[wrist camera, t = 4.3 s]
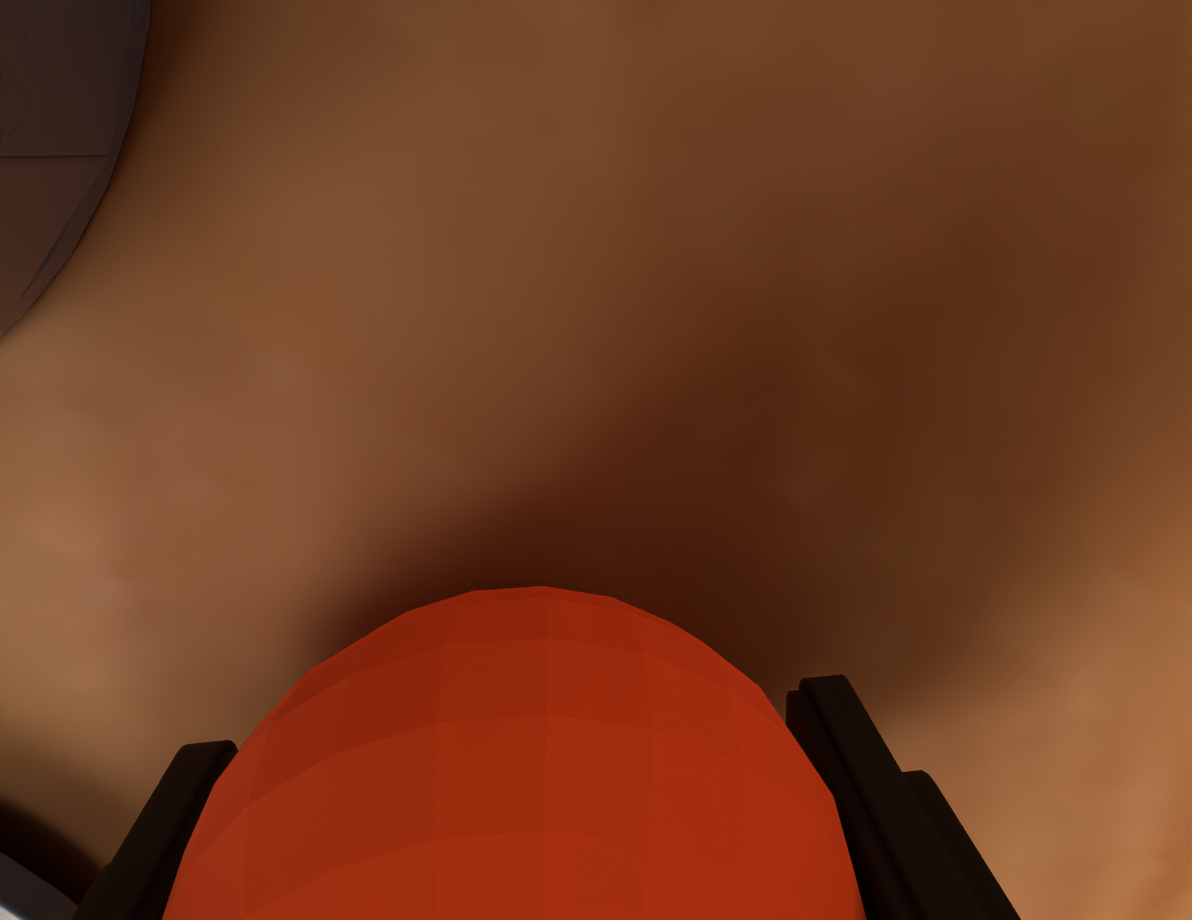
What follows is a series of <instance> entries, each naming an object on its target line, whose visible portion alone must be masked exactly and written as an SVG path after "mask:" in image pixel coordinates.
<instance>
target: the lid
mask: <svg viewBox="0 0 1192 920" xmlns="http://www.w3.org/2000/svg"><path fill="white" fill-rule="evenodd" d="M77 908H78V905H77V904H75V903H74V902H73V901H72V900H71V899H69V898H68V897H67V896H66V895H65V894H63V893H62V892H61V891H60V890H58V889H57V888H55V887H54V886H52V885H51V884H49V883H48V882H46V881H44V880H43V879H41V878H40V877H38V876H37V875H35V874H34V873H32V872H31V871H29V870H28V869H26V868H25V867H23V866H22V865H20V864H19V863H17V862H16V861H14V860H13V859H11V858H10V857H8V856H7V855H5V854H3V853H1V852H0V920H70V919H71V918H72V916H73V914H74V913H75V911H76V910H77Z"/></svg>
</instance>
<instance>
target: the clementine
mask: <svg viewBox="0 0 1192 920" xmlns="http://www.w3.org/2000/svg"><path fill="white" fill-rule="evenodd" d="M162 920H867V919H866V915H865V911H864V907H863V903H862V900H861V896H860V892H859V888H858V884H857V881H856V877H855V873H854V869H853V866H852V862H851V858H850V855H849V851H848V848H847V844H846V840H845V837H844V833H843V829H842V826H841V822H840V818H839V815H838V811H837V807H836V804H835V800H834V796H833V795H832V793H831V792H830V790H829V789H828V787H827V786H826V784H825V783H824V781H823V780H822V778H821V777H820V775H819V774H818V772H817V771H816V769H815V768H814V766H813V765H812V763H811V762H810V760H809V759H808V757H807V756H806V754H805V753H804V751H803V750H802V748H801V747H800V745H799V744H798V742H797V740H796V739H795V738H794V736H793V735H792V733H791V732H790V730H789V729H788V727H787V726H786V724H785V723H784V722H783V720H782V719H781V717H780V716H779V714H778V713H777V711H776V710H775V708H774V707H773V706H772V704H771V703H770V701H769V700H768V698H767V697H766V695H765V694H764V693H763V691H762V690H761V688H760V687H759V686H758V685H757V684H756V683H754V682H753V681H752V680H751V679H749V678H748V677H747V676H745V675H744V674H743V673H742V672H740V671H739V670H738V669H737V668H735V667H734V666H733V665H731V664H730V663H729V662H728V661H726V660H725V659H724V658H723V657H721V656H720V655H719V654H717V653H716V652H715V651H714V650H712V649H711V648H710V647H709V646H707V645H706V644H705V643H703V642H702V641H700V640H699V639H697V638H696V637H694V636H692V635H691V634H689V633H687V632H686V631H684V630H683V629H681V628H679V627H678V626H676V625H674V624H673V623H671V622H669V621H667V620H664V619H662V618H660V617H657V616H655V615H653V614H650V613H648V612H646V611H643V610H641V609H638V608H636V607H634V606H631V605H629V604H627V603H624V602H622V601H619V600H617V599H615V598H612V597H609V596H603V595H596V594H590V593H584V592H578V591H571V590H565V589H559V588H553V587H546V586H534V587H520V588H506V589H492V590H478V591H470V592H467V593H464V594H461V595H458V596H454V597H451V598H448V599H445V600H442V601H438V602H435V603H432V604H429V605H426V606H422V607H419V608H416V609H413V610H410V611H406V612H405V613H403V614H401V615H400V616H398V617H396V618H394V619H393V620H391V621H389V622H388V623H386V624H384V625H383V626H381V627H379V628H378V629H376V630H374V631H373V632H371V633H369V634H368V635H366V636H364V637H363V638H361V639H360V640H358V641H356V642H355V643H353V644H351V645H350V646H348V647H346V648H345V649H343V650H342V651H340V652H338V653H337V654H335V655H333V656H332V657H330V658H328V659H327V660H325V661H324V662H322V663H320V664H319V665H317V666H315V667H314V668H312V669H311V670H309V671H307V672H306V673H305V674H304V676H303V677H302V678H301V679H300V680H299V681H298V682H297V683H296V684H295V685H294V686H293V688H292V689H291V690H290V691H289V692H288V693H287V694H286V695H285V696H284V697H283V698H282V699H281V701H280V702H279V703H278V704H277V705H276V706H275V707H274V708H273V709H272V710H271V711H270V713H269V714H268V715H267V716H266V717H265V718H264V719H263V720H262V721H261V722H260V723H259V724H258V726H257V727H256V728H255V730H254V731H253V732H252V734H251V735H250V736H249V738H248V739H247V740H246V742H245V743H244V745H243V746H242V747H241V749H240V750H239V751H238V753H237V754H236V755H235V757H234V758H233V759H232V761H231V762H230V764H229V765H228V766H227V768H226V769H225V770H224V772H223V773H222V774H221V776H220V777H219V778H218V780H217V781H216V782H215V784H214V786H213V788H212V791H211V793H210V795H209V797H208V800H207V802H206V804H205V806H204V808H203V811H202V813H201V815H200V817H199V820H198V822H197V824H196V826H195V829H194V831H193V833H192V835H191V838H190V840H189V842H188V844H187V847H186V849H185V851H184V854H183V857H182V860H181V863H180V866H179V869H178V872H177V875H176V878H175V881H174V884H173V887H172V890H171V893H170V896H169V899H168V902H167V905H166V908H165V911H164V914H163V918H162Z"/></svg>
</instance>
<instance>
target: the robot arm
mask: <svg viewBox="0 0 1192 920" xmlns="http://www.w3.org/2000/svg"><path fill="white" fill-rule="evenodd" d="M786 726H787V727H788V729H789V730H790V732H791V733H792V735H793V736H794V738H795V739H796V740H797V742H798V744H799V745H800V747H801V748H802V750H803V751H804V753H805V754H806V756H807V757H808V759H809V760H810V762H811V763H812V765H813V766H814V768H815V769H816V771H817V772H818V774H819V775H820V777H821V778H822V780H823V781H824V783H825V784H826V786H827V787H828V789H829V790H830V792H831V793H832V795H833V796H834V800H835V804H836V807H837V811H838V815H839V818H840V822H841V826H842V829H843V833H844V837H845V840H846V844H847V848H848V851H849V855H850V858H851V862H852V866H853V869H854V873H855V877H856V881H857V884H858V888H859V892H860V896H861V900H862V903H863V907H864V911H865V915H866V919H867V920H1021V919H1020V917H1019V915H1018V914H1017V912H1016V911H1015V909H1014V908H1013V906H1012V904H1011V903H1010V901H1009V900H1008V898H1007V896H1006V895H1005V893H1004V892H1003V890H1002V888H1001V887H1000V885H999V884H998V882H997V880H996V879H995V877H994V876H993V874H992V872H991V871H990V869H989V868H988V866H987V864H986V863H985V861H984V860H983V858H982V856H981V855H980V853H979V852H978V850H977V849H976V847H975V845H974V844H973V842H972V841H971V839H970V837H969V836H968V834H967V833H966V831H965V829H964V828H963V826H962V825H961V823H960V821H959V820H958V818H957V817H956V815H955V813H954V812H953V810H952V809H951V807H950V805H949V804H948V802H947V801H946V799H945V797H944V796H943V794H942V793H941V791H940V790H939V788H938V786H937V785H936V783H935V782H934V781H933V779H932V778H931V777H930V776H929V774H927V773H926V772H924V771H923V770H918V771H909V772H902V771H901V770H900V768H899V766H898V764H897V763H896V761H895V759H894V758H893V756H892V754H891V752H890V751H889V749H888V747H887V746H886V744H885V742H884V740H883V739H882V737H881V735H880V734H879V732H878V730H877V728H876V727H875V725H874V723H873V722H872V720H871V718H870V716H869V715H868V713H867V711H866V710H865V708H864V706H863V705H862V703H861V701H860V699H859V698H858V696H857V694H856V693H855V691H854V689H853V687H852V686H851V684H850V682H849V681H848V679H847V678H846V677H845V676H844V675H842V674H840V675H831V676H822V677H812V678H803V679H802V680H801V681H800V684H799V690H795V691H789V692H788V693H787V699H786ZM238 751H239V750H238V749H237V747H236V745H235V744H234V743H233V742H232V741H230V740H223V741H214V742H205V743H195V744H187V745H185V746H183V747H181V749H180V750H179V751H178V752H177V754H176V755H175V757H174V759H173V760H172V762H171V764H170V765H169V767H168V769H167V770H166V772H165V774H164V775H163V777H162V779H161V780H160V782H159V784H158V785H157V787H156V789H155V790H154V792H153V794H152V795H151V797H150V798H149V800H148V802H147V803H146V805H145V807H144V808H143V810H142V812H141V813H140V815H139V817H138V818H137V820H136V822H135V823H134V825H133V827H132V828H131V830H130V832H129V833H128V835H127V837H126V838H125V840H124V842H123V843H122V845H121V846H120V848H119V850H118V851H117V853H116V855H115V856H114V858H113V860H112V861H111V863H109V864H108V865H106V866H105V867H104V868H103V869H102V871H101V872H100V873H99V875H98V876H97V877H96V879H95V880H94V882H93V883H92V885H91V887H90V888H89V890H88V892H87V893H86V895H85V896H84V898H83V900H82V901H81V903H80V905H79V906H78V908H77V910H76V911H75V913H74V914H73V916H72V918H71V919H70V920H162V918H163V914H164V911H165V908H166V905H167V902H168V899H169V896H170V893H171V890H172V887H173V884H174V881H175V878H176V875H177V872H178V869H179V866H180V863H181V860H182V857H183V854H184V851H185V849H186V847H187V844H188V842H189V840H190V838H191V835H192V833H193V831H194V829H195V826H196V824H197V822H198V820H199V817H200V815H201V813H202V811H203V808H204V806H205V804H206V802H207V800H208V797H209V795H210V793H211V791H212V788H213V786H214V784H215V782H216V781H217V780H218V778H219V777H220V776H221V774H222V773H223V772H224V770H225V769H226V768H227V766H228V765H229V764H230V762H231V761H232V759H233V758H234V757H235V755H236V754H237V753H238Z"/></svg>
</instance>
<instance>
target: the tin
mask: <svg viewBox="0 0 1192 920" xmlns="http://www.w3.org/2000/svg"><path fill="white" fill-rule="evenodd" d="M150 10H151V0H0V337H1V336H2V335H3V334H4V333H5V332H6V331H7V330H9V329H10V328H11V327H12V326H13V325H14V324H15V323H16V322H17V321H18V320H19V319H20V318H21V317H22V316H23V315H24V314H25V313H27V312H28V311H29V309H30V308H31V307H32V305H33V304H34V303H35V301H36V300H37V299H38V298H39V296H40V295H41V294H42V292H43V291H44V290H45V288H46V287H47V286H48V284H49V283H50V282H51V280H52V279H53V278H54V276H55V275H56V274H57V272H58V271H59V270H60V268H61V267H62V266H63V265H64V263H65V262H66V261H67V259H68V258H69V257H70V255H71V254H72V252H73V250H74V248H75V246H76V245H77V243H78V241H79V239H80V237H81V235H82V233H83V231H84V229H85V228H86V226H87V224H88V222H89V220H90V218H91V216H92V214H93V212H94V211H95V209H96V207H97V205H98V203H99V201H100V199H101V197H102V195H103V194H104V192H105V190H106V188H107V185H108V182H109V179H110V176H111V174H112V171H113V168H114V165H115V162H116V159H117V156H118V153H119V150H120V147H121V145H122V142H123V139H124V136H125V133H126V130H127V127H128V124H129V121H130V119H131V116H132V113H133V109H134V104H135V99H136V93H137V88H138V83H139V78H140V73H141V67H142V62H143V57H144V52H145V46H146V41H147V36H148V31H149V26H150Z"/></svg>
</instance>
